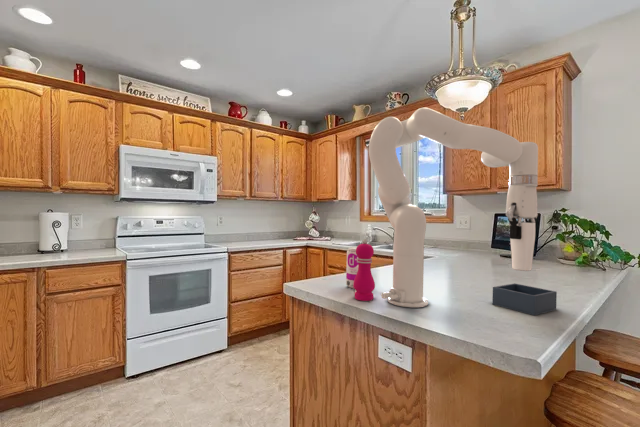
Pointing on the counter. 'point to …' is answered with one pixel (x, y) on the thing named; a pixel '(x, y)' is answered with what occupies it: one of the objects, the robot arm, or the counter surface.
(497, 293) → the tub
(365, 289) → the pepper mill
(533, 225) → the drinking glass
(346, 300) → the counter surface
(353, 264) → the supplement can
